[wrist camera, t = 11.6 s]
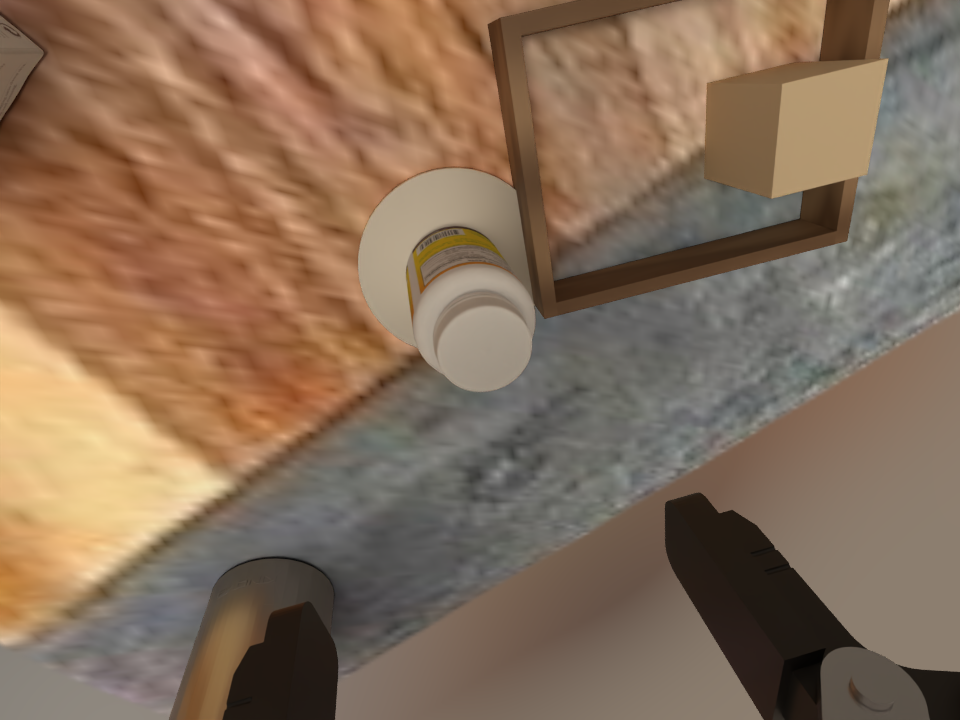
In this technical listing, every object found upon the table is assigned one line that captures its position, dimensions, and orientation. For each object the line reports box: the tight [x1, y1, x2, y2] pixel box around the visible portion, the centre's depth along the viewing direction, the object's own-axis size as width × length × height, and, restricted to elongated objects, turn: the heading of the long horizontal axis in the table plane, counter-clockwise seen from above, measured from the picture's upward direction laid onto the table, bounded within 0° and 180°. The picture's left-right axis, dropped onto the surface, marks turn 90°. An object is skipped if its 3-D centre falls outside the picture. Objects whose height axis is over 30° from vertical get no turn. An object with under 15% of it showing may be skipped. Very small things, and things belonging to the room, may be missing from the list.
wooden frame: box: [488, 0, 890, 319], centre depth 27 cm, size 15×19×3 cm
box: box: [704, 59, 888, 199], centre depth 26 cm, size 5×5×6 cm
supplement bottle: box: [406, 226, 535, 392], centre depth 25 cm, size 6×6×10 cm
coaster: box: [358, 167, 535, 348], centre depth 30 cm, size 11×11×1 cm
